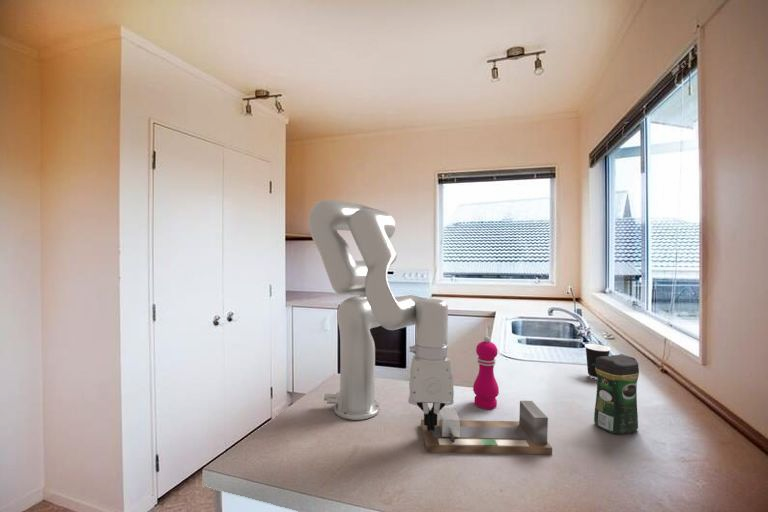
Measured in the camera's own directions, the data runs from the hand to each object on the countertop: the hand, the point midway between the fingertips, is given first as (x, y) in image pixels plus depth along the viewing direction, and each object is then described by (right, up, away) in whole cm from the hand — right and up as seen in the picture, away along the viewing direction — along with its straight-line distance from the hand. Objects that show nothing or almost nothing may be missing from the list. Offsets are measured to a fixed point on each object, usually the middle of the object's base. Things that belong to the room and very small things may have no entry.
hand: (430, 427), depth 87 cm
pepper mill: (+18, -3, +19) cm, 27 cm away
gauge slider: (+4, -1, -1) cm, 5 cm away
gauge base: (+12, -3, 0) cm, 13 cm away
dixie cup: (+65, -3, +43) cm, 78 cm away
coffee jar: (+48, -3, +7) cm, 49 cm away
